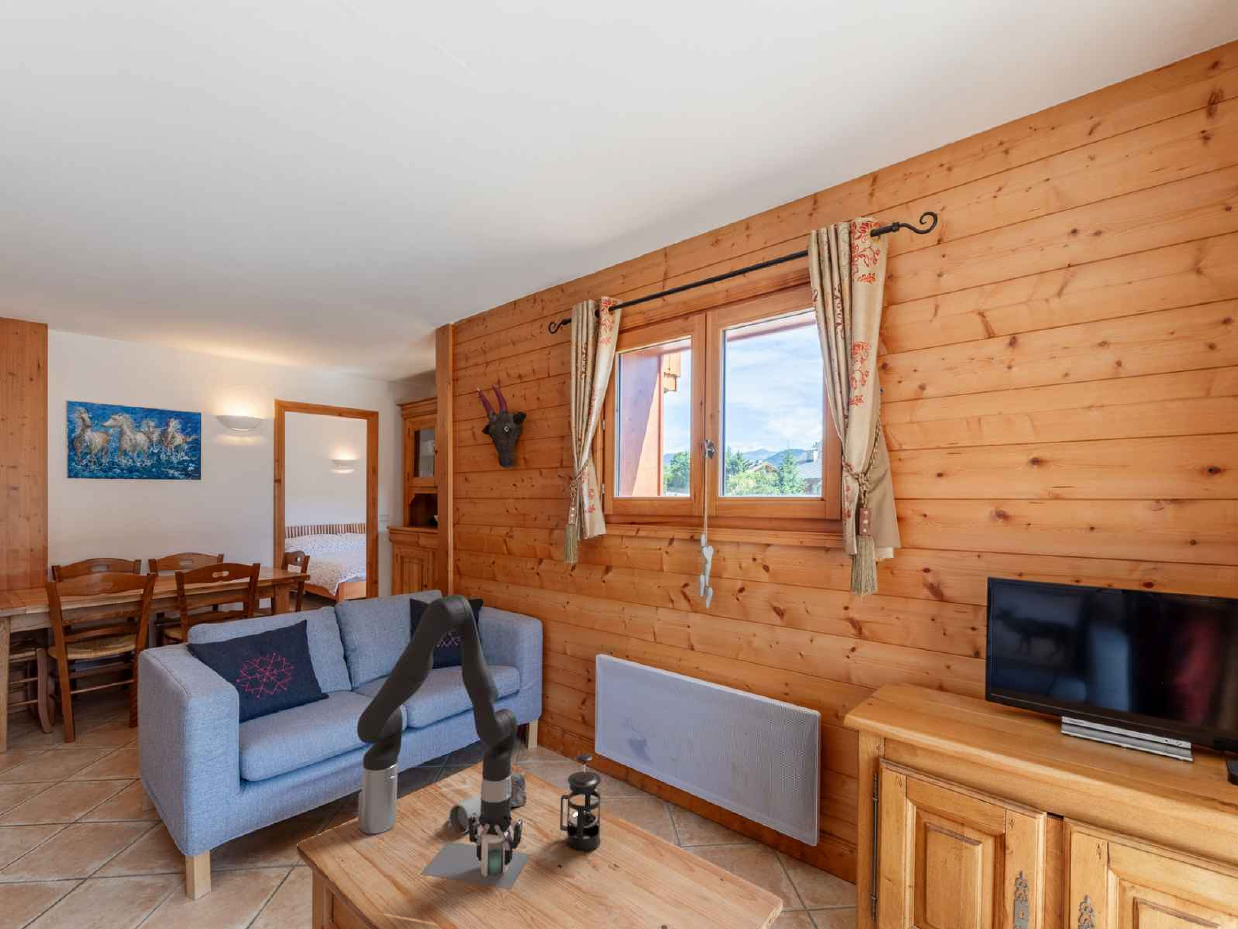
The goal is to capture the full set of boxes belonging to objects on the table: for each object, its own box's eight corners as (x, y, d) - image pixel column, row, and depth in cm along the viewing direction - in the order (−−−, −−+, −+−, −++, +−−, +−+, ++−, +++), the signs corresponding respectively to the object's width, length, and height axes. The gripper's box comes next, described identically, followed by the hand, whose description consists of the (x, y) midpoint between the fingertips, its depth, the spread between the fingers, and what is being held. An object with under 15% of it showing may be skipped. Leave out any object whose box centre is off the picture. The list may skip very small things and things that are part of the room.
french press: (605, 834, 166) (607, 750, 167) (599, 855, 157) (600, 766, 158) (564, 830, 168) (566, 747, 169) (556, 850, 159) (557, 762, 160)
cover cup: (476, 875, 147) (477, 838, 148) (487, 859, 153) (488, 823, 154) (500, 879, 146) (501, 841, 146) (511, 863, 152) (511, 827, 152)
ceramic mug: (488, 824, 170) (489, 796, 171) (467, 838, 163) (468, 809, 164) (461, 814, 176) (462, 787, 176) (440, 827, 169) (440, 799, 169)
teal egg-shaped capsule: (483, 873, 148) (483, 858, 148) (490, 863, 152) (490, 849, 152) (498, 875, 147) (498, 861, 147) (504, 865, 151) (505, 851, 151)
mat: (419, 875, 147) (419, 873, 147) (447, 842, 161) (447, 841, 161) (511, 891, 142) (511, 889, 142) (531, 855, 156) (531, 854, 156)
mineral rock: (477, 810, 178) (478, 776, 178) (492, 792, 188) (492, 760, 188) (517, 816, 175) (518, 781, 175) (530, 797, 185) (531, 764, 186)
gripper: (462, 797, 148) (461, 866, 148) (517, 804, 145) (515, 875, 145) (476, 782, 156) (474, 848, 155) (528, 789, 153) (526, 856, 152)
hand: (494, 861), depth 150 cm, fingers closed on cover cup, 6 cm apart
